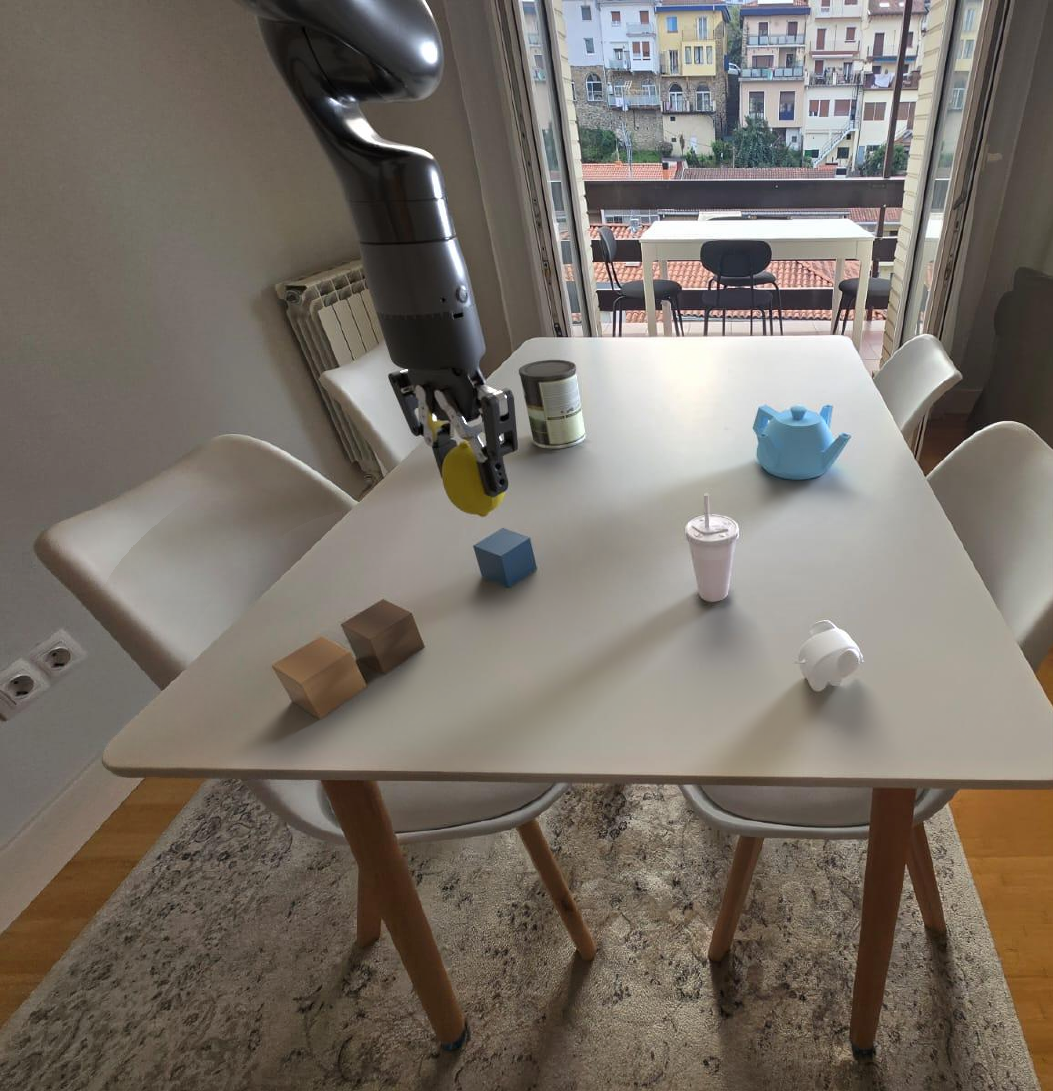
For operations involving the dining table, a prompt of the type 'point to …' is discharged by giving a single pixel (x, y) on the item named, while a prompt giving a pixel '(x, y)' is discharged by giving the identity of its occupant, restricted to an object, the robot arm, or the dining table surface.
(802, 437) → the teapot
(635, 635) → the dining table surface
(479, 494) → the lemon
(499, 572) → the block
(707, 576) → the smoothie
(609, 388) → the dining table surface
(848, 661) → the white rounded piece
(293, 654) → the block
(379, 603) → the block
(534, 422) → the coffee can
